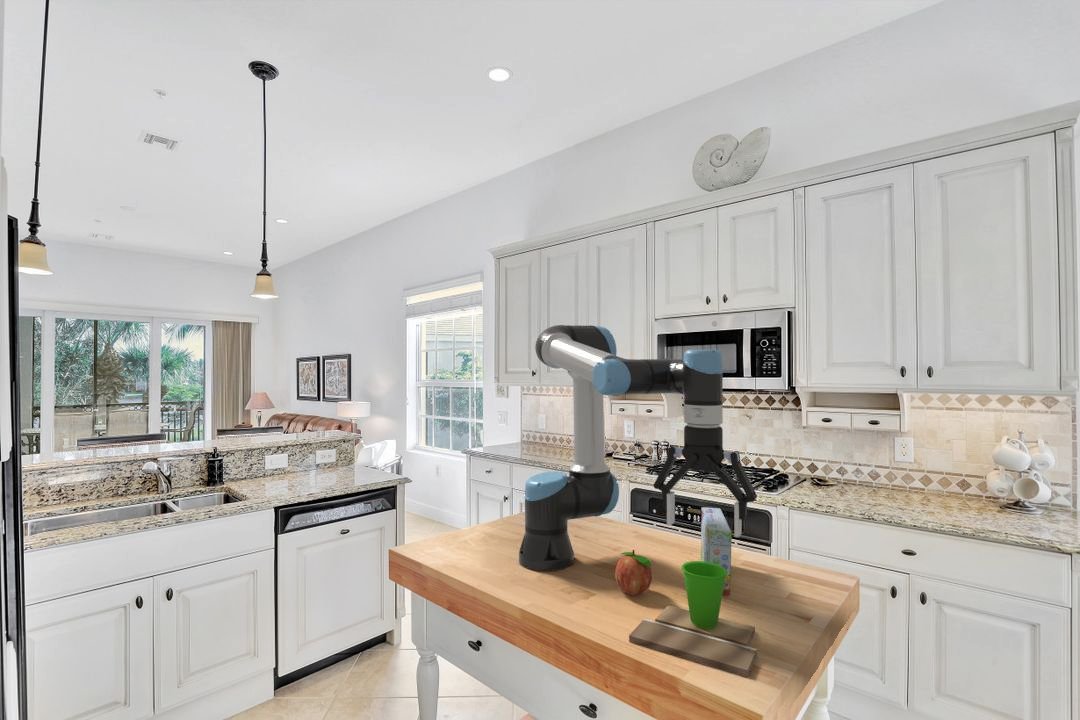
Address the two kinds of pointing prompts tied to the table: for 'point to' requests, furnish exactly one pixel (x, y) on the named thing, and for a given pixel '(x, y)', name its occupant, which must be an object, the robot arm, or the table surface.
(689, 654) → the floorboard
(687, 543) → the table surface
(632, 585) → the fruit
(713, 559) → the snack box
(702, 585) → the cup
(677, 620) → the plank
